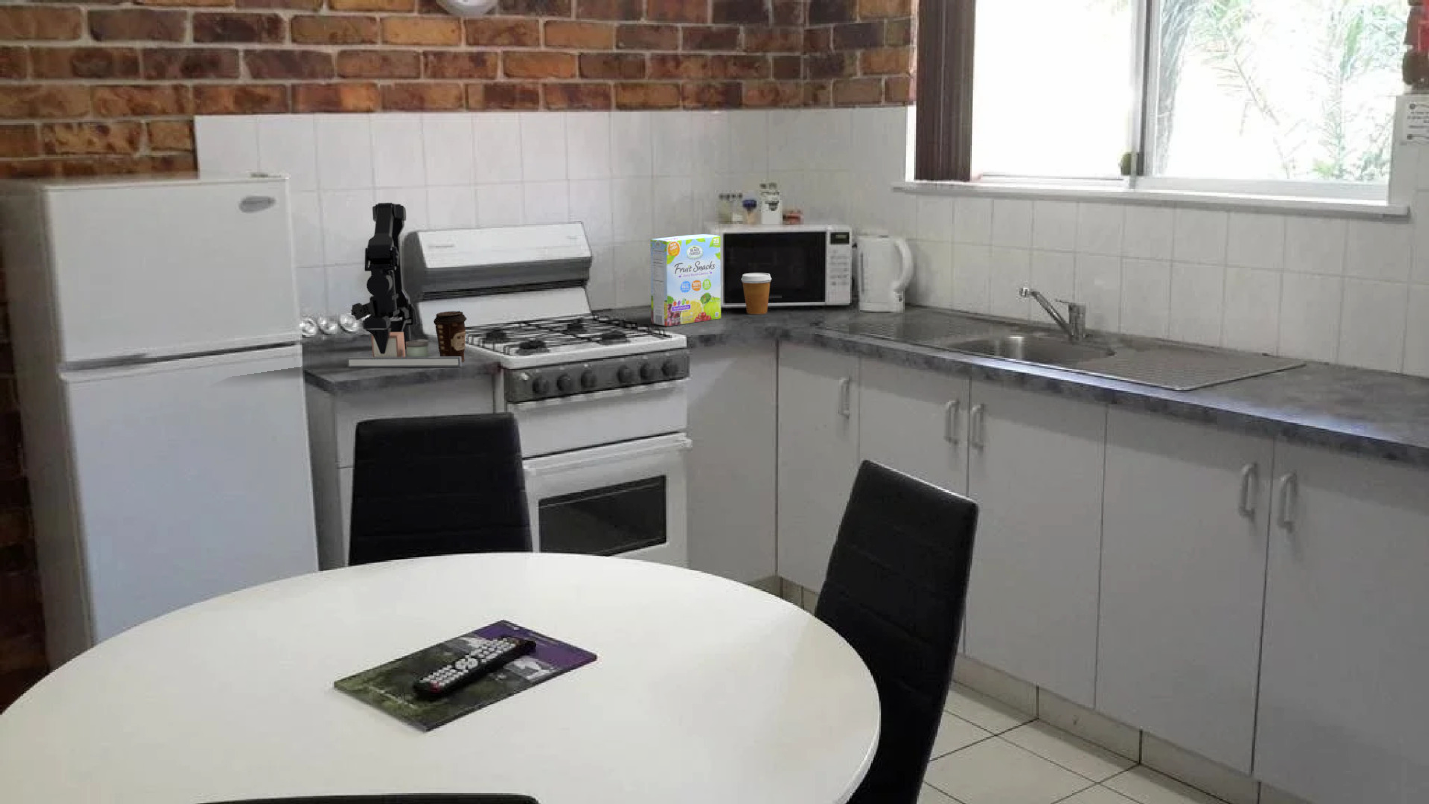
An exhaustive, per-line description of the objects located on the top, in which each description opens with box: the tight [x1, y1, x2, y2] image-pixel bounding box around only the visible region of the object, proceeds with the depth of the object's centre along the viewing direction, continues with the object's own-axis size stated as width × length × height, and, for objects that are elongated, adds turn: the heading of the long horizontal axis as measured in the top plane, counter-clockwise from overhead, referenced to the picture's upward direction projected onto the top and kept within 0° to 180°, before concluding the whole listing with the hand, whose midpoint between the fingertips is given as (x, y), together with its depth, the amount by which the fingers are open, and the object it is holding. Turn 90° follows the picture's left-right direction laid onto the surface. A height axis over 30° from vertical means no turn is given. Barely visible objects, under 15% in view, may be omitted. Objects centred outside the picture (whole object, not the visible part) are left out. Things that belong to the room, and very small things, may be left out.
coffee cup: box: [433, 310, 468, 363], centre depth 353 cm, size 9×8×13 cm
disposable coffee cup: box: [740, 272, 772, 315], centre depth 422 cm, size 10×10×12 cm
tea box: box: [370, 332, 406, 357], centre depth 354 cm, size 5×7×8 cm
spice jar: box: [405, 339, 430, 357], centre depth 352 cm, size 6×6×6 cm
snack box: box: [649, 233, 722, 327], centre depth 407 cm, size 22×9×26 cm, turn 131°
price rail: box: [346, 356, 463, 368], centre depth 349 cm, size 2×30×2 cm, turn 84°
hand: (388, 350), depth 354 cm, fingers open, 9 cm apart
